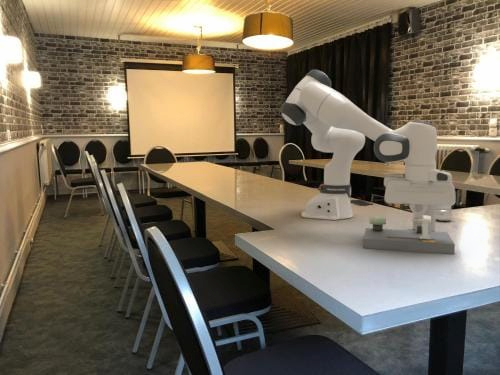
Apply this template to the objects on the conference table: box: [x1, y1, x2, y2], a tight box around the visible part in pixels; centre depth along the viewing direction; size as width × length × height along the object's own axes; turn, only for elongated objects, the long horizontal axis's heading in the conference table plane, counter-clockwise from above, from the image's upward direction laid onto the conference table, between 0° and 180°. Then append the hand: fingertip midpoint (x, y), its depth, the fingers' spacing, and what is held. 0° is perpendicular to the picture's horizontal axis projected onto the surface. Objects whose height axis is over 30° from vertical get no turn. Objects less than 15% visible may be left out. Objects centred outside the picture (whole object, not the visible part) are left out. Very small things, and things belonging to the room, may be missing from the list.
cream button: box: [414, 215, 431, 223], centre depth 136 cm, size 5×5×2 cm
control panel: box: [362, 224, 456, 255], centre depth 134 cm, size 26×16×5 cm, turn 72°
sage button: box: [369, 216, 387, 226], centre depth 141 cm, size 5×5×2 cm
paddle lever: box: [419, 220, 431, 239], centre depth 128 cm, size 3×4×5 cm
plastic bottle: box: [435, 171, 454, 222], centre depth 168 cm, size 6×7×20 cm
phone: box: [350, 199, 374, 207], centre depth 216 cm, size 8×1×15 cm
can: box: [412, 204, 436, 232], centre depth 152 cm, size 8×8×12 cm
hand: (418, 218), depth 128 cm, fingers closed
